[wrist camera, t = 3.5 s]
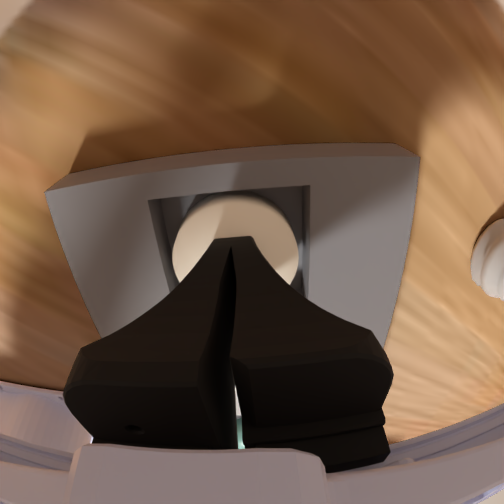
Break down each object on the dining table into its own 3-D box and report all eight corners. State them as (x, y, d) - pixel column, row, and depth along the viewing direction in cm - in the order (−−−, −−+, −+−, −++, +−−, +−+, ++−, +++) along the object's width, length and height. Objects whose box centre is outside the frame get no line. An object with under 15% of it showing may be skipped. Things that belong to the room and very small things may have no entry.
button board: (174, 433, 22) (172, 455, 20) (68, 173, 11) (44, 191, 9) (344, 420, 21) (349, 442, 20) (395, 143, 11) (420, 157, 9)
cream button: (188, 295, 13) (185, 314, 12) (168, 196, 11) (161, 210, 10) (293, 286, 13) (298, 305, 12) (292, 185, 11) (298, 198, 10)
